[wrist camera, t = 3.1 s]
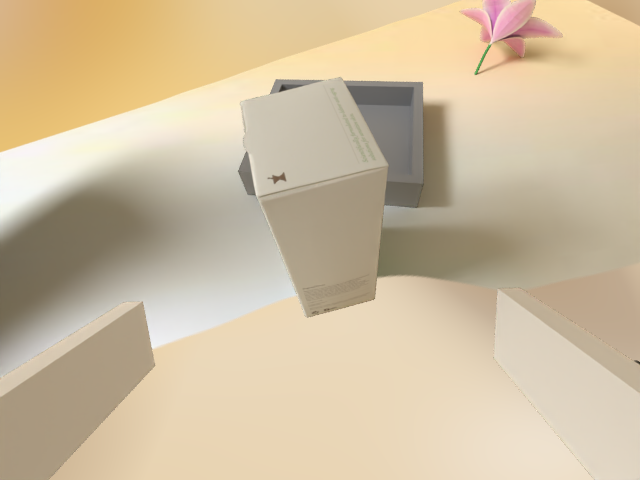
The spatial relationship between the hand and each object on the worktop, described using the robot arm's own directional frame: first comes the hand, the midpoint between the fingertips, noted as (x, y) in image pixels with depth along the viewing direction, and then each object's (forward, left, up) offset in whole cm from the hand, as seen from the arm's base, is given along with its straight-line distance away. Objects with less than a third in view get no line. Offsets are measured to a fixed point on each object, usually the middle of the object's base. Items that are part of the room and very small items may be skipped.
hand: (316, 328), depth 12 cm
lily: (+16, +45, -15) cm, 50 cm away
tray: (-3, +26, -14) cm, 29 cm away
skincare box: (-2, +10, -14) cm, 17 cm away
